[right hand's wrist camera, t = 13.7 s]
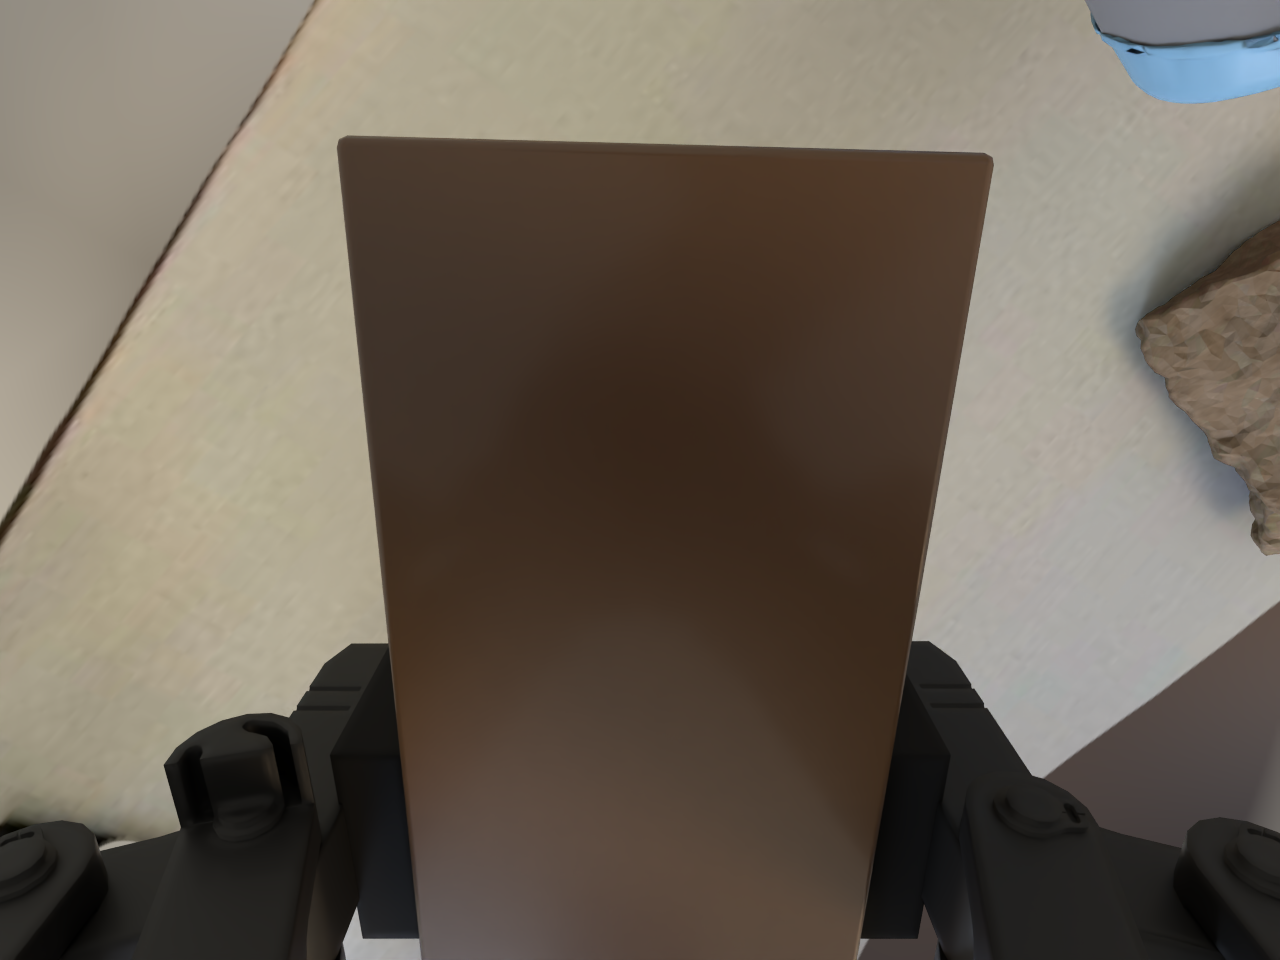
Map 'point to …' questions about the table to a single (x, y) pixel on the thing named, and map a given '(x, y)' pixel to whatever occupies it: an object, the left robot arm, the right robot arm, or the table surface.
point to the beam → (652, 524)
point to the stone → (1230, 368)
